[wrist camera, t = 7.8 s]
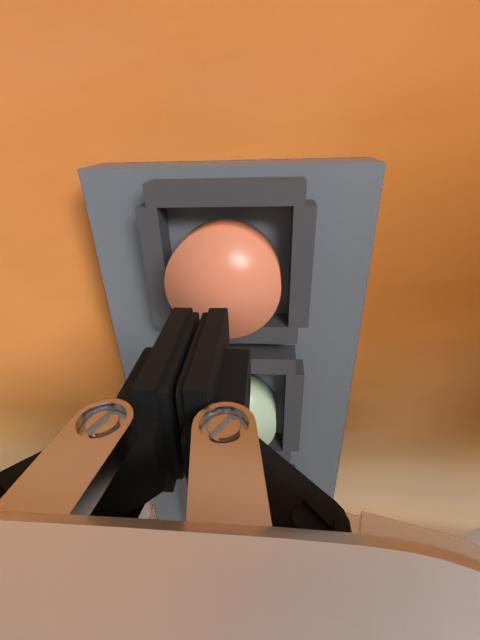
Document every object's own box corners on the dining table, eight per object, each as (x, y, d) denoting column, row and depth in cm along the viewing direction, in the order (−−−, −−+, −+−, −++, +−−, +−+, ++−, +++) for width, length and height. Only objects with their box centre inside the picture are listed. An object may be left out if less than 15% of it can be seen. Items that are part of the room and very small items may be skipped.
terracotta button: (281, 218, 16) (283, 229, 14) (278, 318, 18) (279, 339, 16) (169, 219, 16) (156, 231, 14) (181, 317, 18) (171, 338, 17)
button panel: (369, 157, 18) (396, 166, 14) (323, 495, 31) (331, 549, 27) (103, 163, 19) (60, 173, 15) (166, 487, 32) (152, 538, 28)
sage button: (276, 370, 21) (277, 393, 19) (274, 433, 23) (275, 458, 21) (191, 368, 21) (184, 390, 19) (198, 430, 24) (193, 454, 22)
